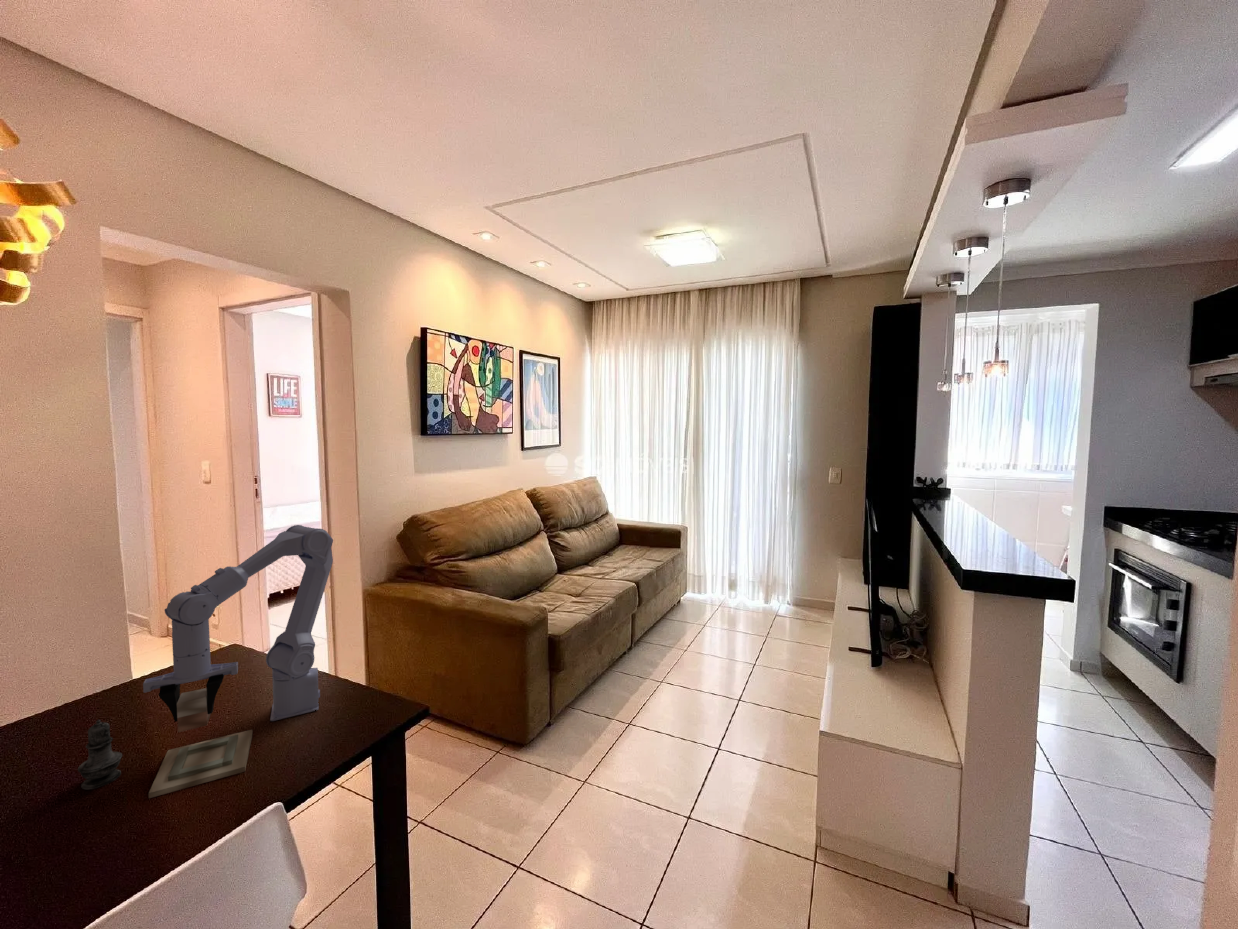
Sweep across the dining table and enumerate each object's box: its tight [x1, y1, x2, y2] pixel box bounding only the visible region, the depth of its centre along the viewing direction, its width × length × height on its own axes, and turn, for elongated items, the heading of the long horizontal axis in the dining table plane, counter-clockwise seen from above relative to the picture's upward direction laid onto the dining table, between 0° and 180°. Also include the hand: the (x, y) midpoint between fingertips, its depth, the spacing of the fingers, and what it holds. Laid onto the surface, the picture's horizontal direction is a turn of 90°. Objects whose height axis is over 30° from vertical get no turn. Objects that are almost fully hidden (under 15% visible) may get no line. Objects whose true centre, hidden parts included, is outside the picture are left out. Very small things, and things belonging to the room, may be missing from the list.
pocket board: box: [148, 729, 254, 799], centre depth 99 cm, size 14×14×2 cm
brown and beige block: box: [176, 687, 212, 733], centre depth 100 cm, size 4×4×6 cm
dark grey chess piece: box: [77, 718, 123, 791], centre depth 93 cm, size 6×6×12 cm
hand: (194, 715), depth 101 cm, fingers closed on brown and beige block, 4 cm apart
